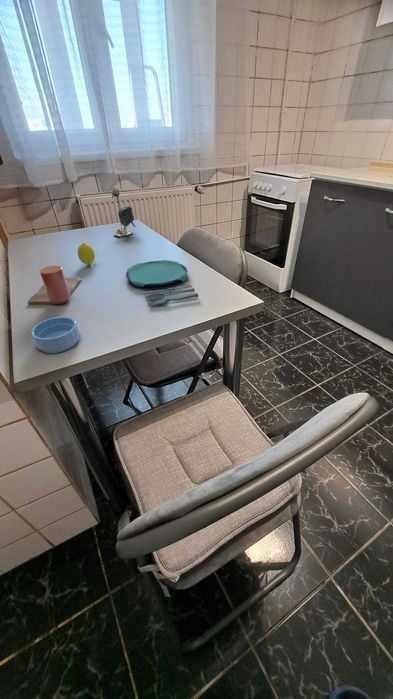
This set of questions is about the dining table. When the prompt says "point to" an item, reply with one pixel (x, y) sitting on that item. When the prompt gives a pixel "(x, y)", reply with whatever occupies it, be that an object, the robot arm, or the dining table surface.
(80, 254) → the lemon
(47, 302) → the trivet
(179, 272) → the cutlery set
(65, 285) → the terracotta cylindrical canister
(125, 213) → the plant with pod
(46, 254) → the dining table surface
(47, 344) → the bowl
